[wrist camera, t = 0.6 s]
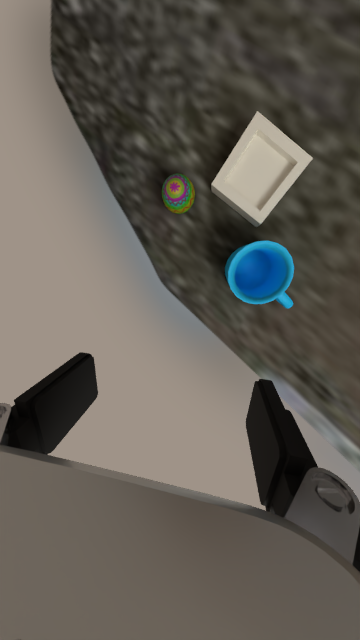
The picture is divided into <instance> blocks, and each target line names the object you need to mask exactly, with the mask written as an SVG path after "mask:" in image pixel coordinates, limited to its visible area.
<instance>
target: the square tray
mask: <svg viewBox="0 0 360 640" xmlns="http://www.w3.org/2000/svg"><path fill="white" fill-rule="evenodd" d="M312 159H313V158H312V157H311V156H310V155H309V154H307V153H306V152H305V151H304V150H303V149H301V148H300V147H299V146H298V145H297V144H296V143H294V142H293V141H292V140H291V139H290V138H289V137H287V136H286V135H285V134H284V133H283V132H281V131H280V130H279V129H278V128H277V127H276V126H274V125H273V124H272V123H271V122H270V121H269V120H267V119H266V118H265V117H264V116H263V115H261V114H260V113H259V112H258V111H257V113H256V114H255V116H254V117H253V119H252V121H251V122H250V124H249V125H248V127H247V128H246V130H245V132H244V133H243V135H242V136H241V138H240V140H239V141H238V143H237V144H236V146H235V148H234V149H233V151H232V152H231V154H230V155H229V157H228V159H227V160H226V162H225V163H224V165H223V167H222V168H221V170H220V171H219V173H218V174H217V176H216V178H215V179H214V181H213V182H212V184H211V189H212V192H213V193H214V194H215V195H217V196H218V197H219V198H220V199H222V200H223V201H224V202H225V203H227V204H228V205H229V206H230V207H232V208H233V209H234V210H235V211H237V212H238V213H239V214H240V215H242V216H243V217H244V218H245V219H247V220H248V221H249V222H250V223H251V224H253V225H254V226H255V227H257V226H259V225H260V224H261V223H262V222H263V221H264V219H265V218H266V217H267V216H268V214H269V213H270V212H271V210H272V209H273V208H274V207H275V205H276V204H277V203H278V202H279V200H280V199H281V198H282V197H283V195H284V194H285V193H286V192H287V190H288V189H289V188H290V186H291V185H292V184H293V183H294V181H295V180H296V179H297V178H298V176H299V175H300V174H301V173H302V171H303V170H304V169H305V168H306V166H307V165H308V164H309V162H310V161H311V160H312Z"/></svg>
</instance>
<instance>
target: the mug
mask: <svg viewBox="0 0 360 640" xmlns="http://www.w3.org/2000/svg"><path fill="white" fill-rule="evenodd" d="M293 272H294V265H293V260H292V257H291V255H290V254H289V252H288V251H287V249H286V248H284V247H283V246H281V245H280V244H278V243H275V242H271V241H257V242H253V243H250V244H247V245H245V246H242V247H240V248H238V249H237V250H235V251H234V252H233V253H232V254H231V256H230V257H229V258H228V260H227V263H226V266H225V276H226V279H227V282H228V284H229V286H230V288H231V290H232V291H233V293H234V294H235V295H236V297H238V298H239V299H241V300H242V301H244V302H247V303H251V304H264V303H267V302H270V301H273V300H274V299H276V300H277V301H278V302H279V303H280V304H281V305H283V306H284V307H285V308H290V307H292V305H293V301H292V300H291V299H290V297H289V296H288V295H287V294H286V293H285V292H284V291H285V290H286V289H287V288H288V287H289V285H290V282H291V280H292V278H293Z"/></svg>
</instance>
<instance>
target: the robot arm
mask: <svg viewBox="0 0 360 640" xmlns="http://www.w3.org/2000/svg"><path fill="white" fill-rule="evenodd" d="M97 395H98V390H97V382H96V373H95V364H94V358H93V357H92V355H91V354H88V353H79V354H77V355H76V356H74V357H73V358H72V359H70V360H69V361H67V362H66V363H65V364H64V365H62V366H60V367H59V368H58V369H56V370H55V371H54V372H52V373H51V374H49V375H48V376H47V377H45V378H44V379H42V380H41V381H40V382H38V383H37V384H35V385H34V386H33V387H31V388H30V389H29V390H27V391H26V392H25V393H23V394H22V395H20V396H19V397H17V398H16V399H15V400H14V402H15V405H14V406H13V407H11V406H10V405H9V404H5V403H0V640H360V502H359V500H358V498H357V496H356V495H355V493H354V492H353V490H352V489H351V488H350V487H349V486H348V485H347V484H346V483H345V482H344V481H343V480H342V479H341V478H339V477H338V476H337V475H335V474H333V473H332V472H330V471H328V470H326V469H323V468H318V466H317V464H316V462H315V460H314V458H313V456H312V454H311V452H310V450H309V448H308V446H307V444H306V442H305V440H304V438H303V436H302V434H301V432H300V429H299V428H298V425H297V423H296V422H295V419H294V417H293V415H292V414H291V412H290V411H289V410H285V408H284V406H283V404H282V402H281V399H280V397H279V395H278V393H277V391H276V389H275V386H274V384H273V382H272V381H271V380H264V379H259V381H255V384H254V388H253V392H252V397H251V401H250V405H249V410H248V414H247V418H246V429H247V434H248V439H249V445H250V450H251V455H252V460H253V466H254V470H255V476H256V482H257V487H258V492H259V497H260V502H261V504H262V505H264V506H266V511H265V510H262V509H259V508H256V507H252V506H249V505H246V504H242V503H239V502H235V501H231V500H228V499H224V498H220V497H216V496H213V495H209V494H205V493H201V492H197V491H193V490H189V489H185V488H181V487H177V486H173V485H169V484H165V483H161V482H157V481H153V480H149V479H145V478H141V477H137V476H133V475H129V474H124V473H120V472H116V471H112V470H108V469H103V468H100V467H96V466H92V465H87V464H83V463H79V462H74V461H70V460H66V459H62V458H57V457H53V456H49V455H47V454H48V453H51V452H52V451H53V450H54V449H55V448H56V446H57V445H58V444H59V443H60V442H61V440H62V439H63V438H64V437H65V436H66V434H67V433H68V432H69V430H70V429H71V428H72V427H73V426H74V425H75V423H76V422H77V421H78V420H79V419H80V417H81V416H82V415H83V414H84V413H85V411H86V410H87V409H88V408H89V406H90V405H91V404H92V403H93V402H94V400H95V399H96V398H97Z"/></svg>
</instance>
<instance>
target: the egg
mask: <svg viewBox="0 0 360 640" xmlns="http://www.w3.org/2000/svg"><path fill="white" fill-rule="evenodd" d="M162 198H163V202H164V204H165V206H166V207H167V208H168V209H169V210H170V211H171V212H173V213H176V214H182V213H185V212H187V211H188V210H189V209H190V208H191V206H192V205H193V202H194V198H195V191H194V187H193V184H192V182H191V181H190V180H189V178H187V177H186V176H185V175H183V174H173V175H171V176H169V177H168V178H167V179H166V180H165V182H164V184H163V187H162Z"/></svg>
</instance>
